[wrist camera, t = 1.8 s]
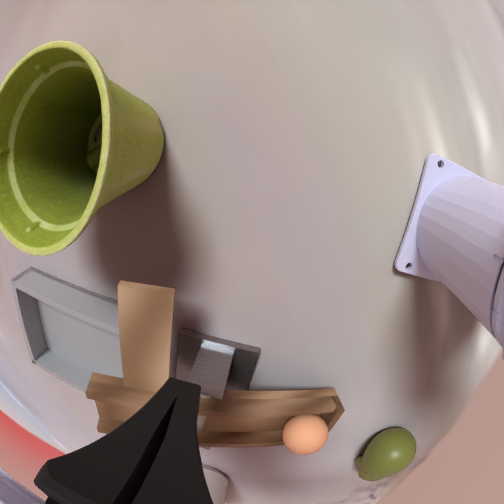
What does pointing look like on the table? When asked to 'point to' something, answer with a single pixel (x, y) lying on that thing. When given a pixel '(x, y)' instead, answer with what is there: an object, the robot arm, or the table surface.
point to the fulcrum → (214, 363)
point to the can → (216, 484)
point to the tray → (67, 328)
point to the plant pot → (67, 146)
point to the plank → (210, 409)
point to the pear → (387, 454)
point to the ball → (305, 434)
